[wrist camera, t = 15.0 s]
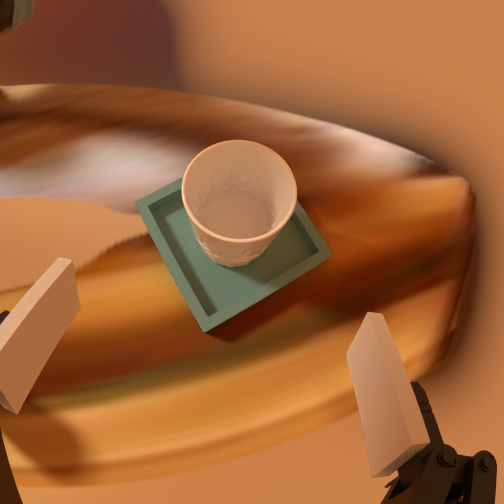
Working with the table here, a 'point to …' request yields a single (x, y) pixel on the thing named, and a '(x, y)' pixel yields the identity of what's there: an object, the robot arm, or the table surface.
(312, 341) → the table surface
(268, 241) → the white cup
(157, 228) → the tray
